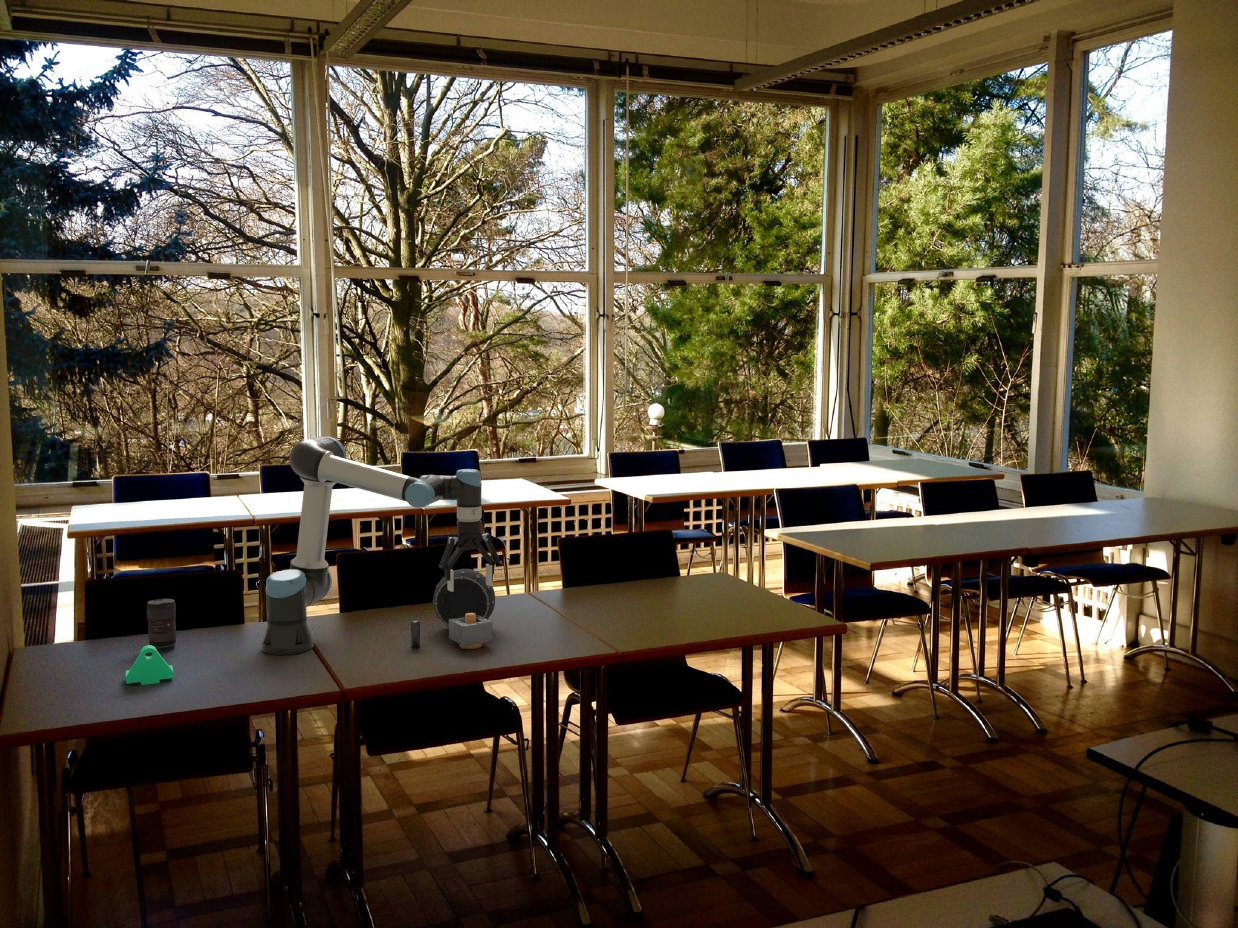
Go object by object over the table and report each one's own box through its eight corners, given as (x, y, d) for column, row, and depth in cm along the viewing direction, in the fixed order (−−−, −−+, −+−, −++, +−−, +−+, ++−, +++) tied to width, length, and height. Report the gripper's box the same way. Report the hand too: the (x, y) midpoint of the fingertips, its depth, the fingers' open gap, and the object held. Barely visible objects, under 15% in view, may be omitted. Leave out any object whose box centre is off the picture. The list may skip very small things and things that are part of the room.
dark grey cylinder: (182, 648, 327) (180, 600, 325) (156, 654, 321) (154, 605, 319) (169, 643, 332) (167, 596, 331) (143, 649, 326) (141, 601, 324)
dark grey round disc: (492, 634, 344) (492, 573, 342) (431, 633, 345) (430, 573, 342) (497, 625, 355) (496, 566, 353) (437, 624, 355) (436, 566, 353)
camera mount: (172, 673, 303) (170, 638, 302) (173, 681, 296) (172, 645, 295) (126, 679, 298) (124, 643, 297) (126, 687, 291) (124, 650, 290)
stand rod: (410, 647, 328) (410, 622, 327) (411, 645, 331) (411, 620, 330) (419, 647, 329) (419, 622, 328) (420, 645, 331) (420, 620, 330)
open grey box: (463, 645, 324) (463, 626, 323) (448, 638, 332) (448, 619, 332) (492, 640, 330) (492, 621, 329) (477, 633, 338) (477, 614, 337)
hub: (458, 649, 327) (457, 617, 326) (459, 642, 335) (459, 611, 333) (481, 648, 328) (481, 616, 327) (482, 642, 335) (482, 611, 334)
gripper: (437, 525, 317) (438, 595, 319) (510, 517, 331) (510, 585, 333) (427, 521, 323) (428, 590, 325) (499, 514, 337) (499, 580, 339)
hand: (470, 587), depth 329 cm, fingers open, 12 cm apart
